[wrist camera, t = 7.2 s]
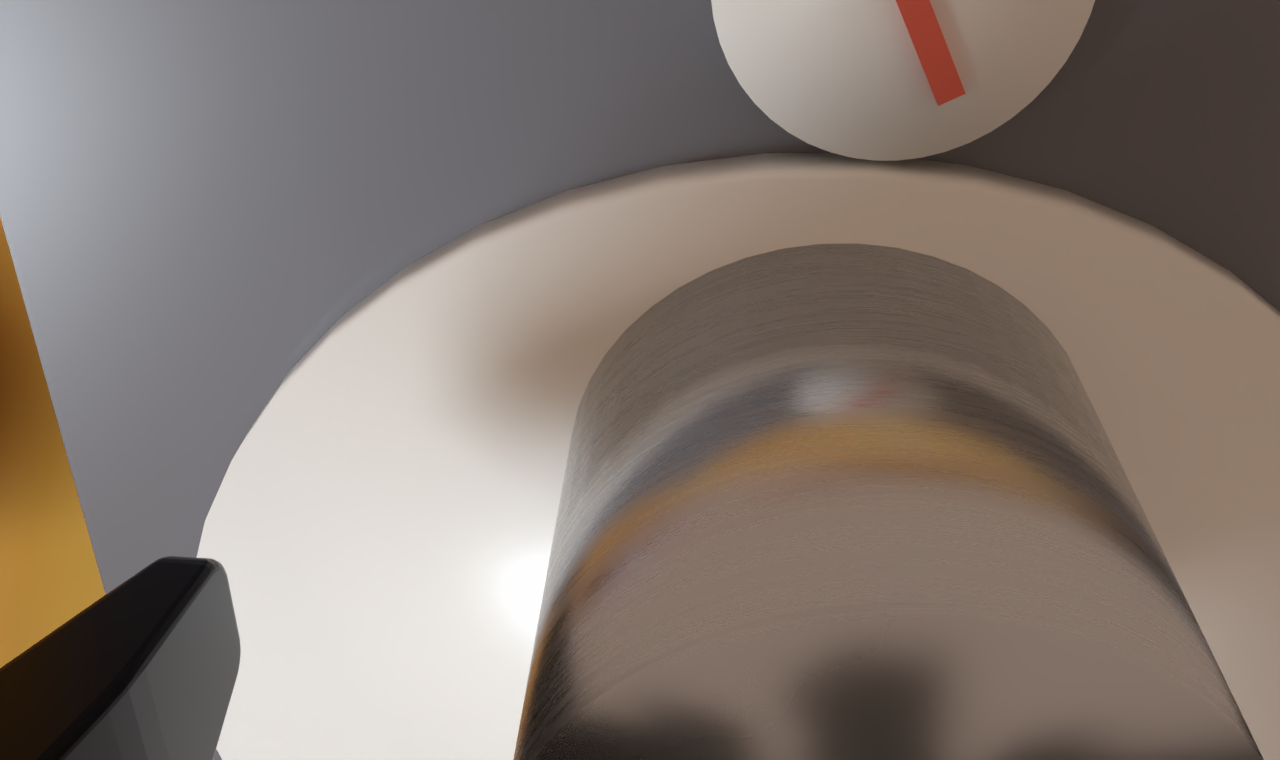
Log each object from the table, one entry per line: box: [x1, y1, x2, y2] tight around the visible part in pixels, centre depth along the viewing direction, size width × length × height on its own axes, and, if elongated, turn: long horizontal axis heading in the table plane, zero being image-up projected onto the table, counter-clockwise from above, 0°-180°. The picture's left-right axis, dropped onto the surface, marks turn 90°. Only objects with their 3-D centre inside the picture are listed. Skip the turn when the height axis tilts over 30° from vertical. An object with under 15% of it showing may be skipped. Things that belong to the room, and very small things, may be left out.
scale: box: [0, 0, 1280, 760], centre depth 12 cm, size 15×14×3 cm
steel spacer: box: [513, 244, 1264, 760], centre depth 8 cm, size 4×4×4 cm
